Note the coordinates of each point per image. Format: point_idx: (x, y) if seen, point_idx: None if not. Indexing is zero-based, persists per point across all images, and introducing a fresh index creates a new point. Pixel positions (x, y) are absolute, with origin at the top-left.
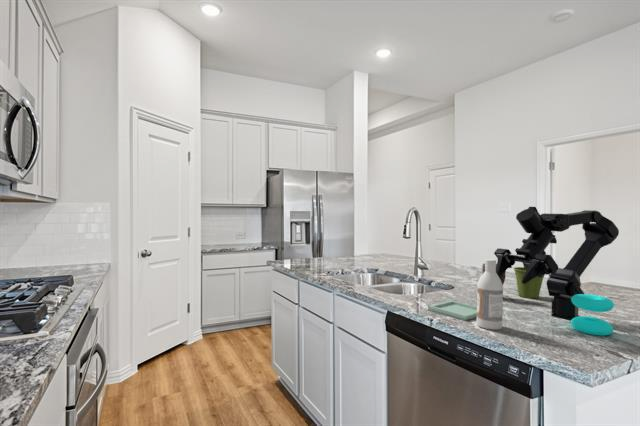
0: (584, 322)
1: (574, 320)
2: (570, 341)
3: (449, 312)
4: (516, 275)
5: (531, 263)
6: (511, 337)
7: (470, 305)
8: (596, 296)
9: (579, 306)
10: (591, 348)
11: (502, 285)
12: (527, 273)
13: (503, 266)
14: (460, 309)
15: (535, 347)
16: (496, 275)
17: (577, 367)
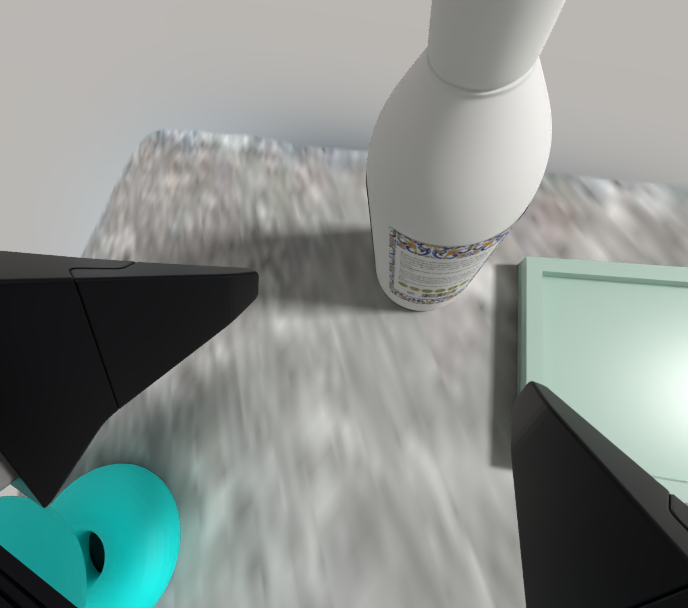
0: (112, 490)
1: (149, 515)
2: None
3: (616, 263)
4: None
5: (2, 266)
6: (324, 219)
7: None
8: None
9: (61, 516)
10: None
11: (370, 175)
12: (169, 265)
13: (576, 563)
14: (644, 399)
15: (253, 192)
16: (407, 78)
17: (164, 145)
